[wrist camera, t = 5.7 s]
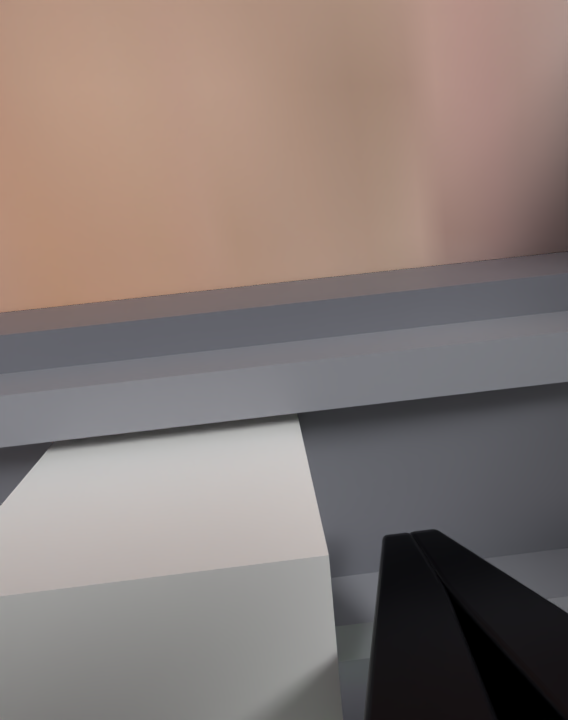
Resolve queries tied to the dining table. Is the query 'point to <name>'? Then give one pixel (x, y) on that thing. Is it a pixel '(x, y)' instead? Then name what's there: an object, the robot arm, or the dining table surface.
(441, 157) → the dining table surface
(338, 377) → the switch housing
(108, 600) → the white cube
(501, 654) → the robot arm
